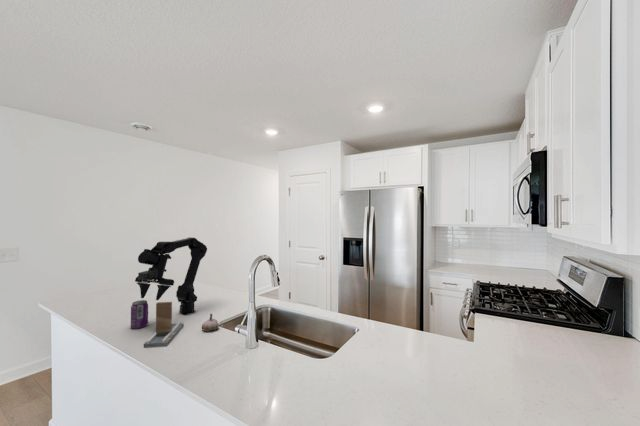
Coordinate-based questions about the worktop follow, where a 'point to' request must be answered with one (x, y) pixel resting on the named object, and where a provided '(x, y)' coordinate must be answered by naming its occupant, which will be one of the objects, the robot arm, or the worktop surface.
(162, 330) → the fader handle
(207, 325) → the garlic bulb
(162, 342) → the fader track
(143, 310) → the beverage can
